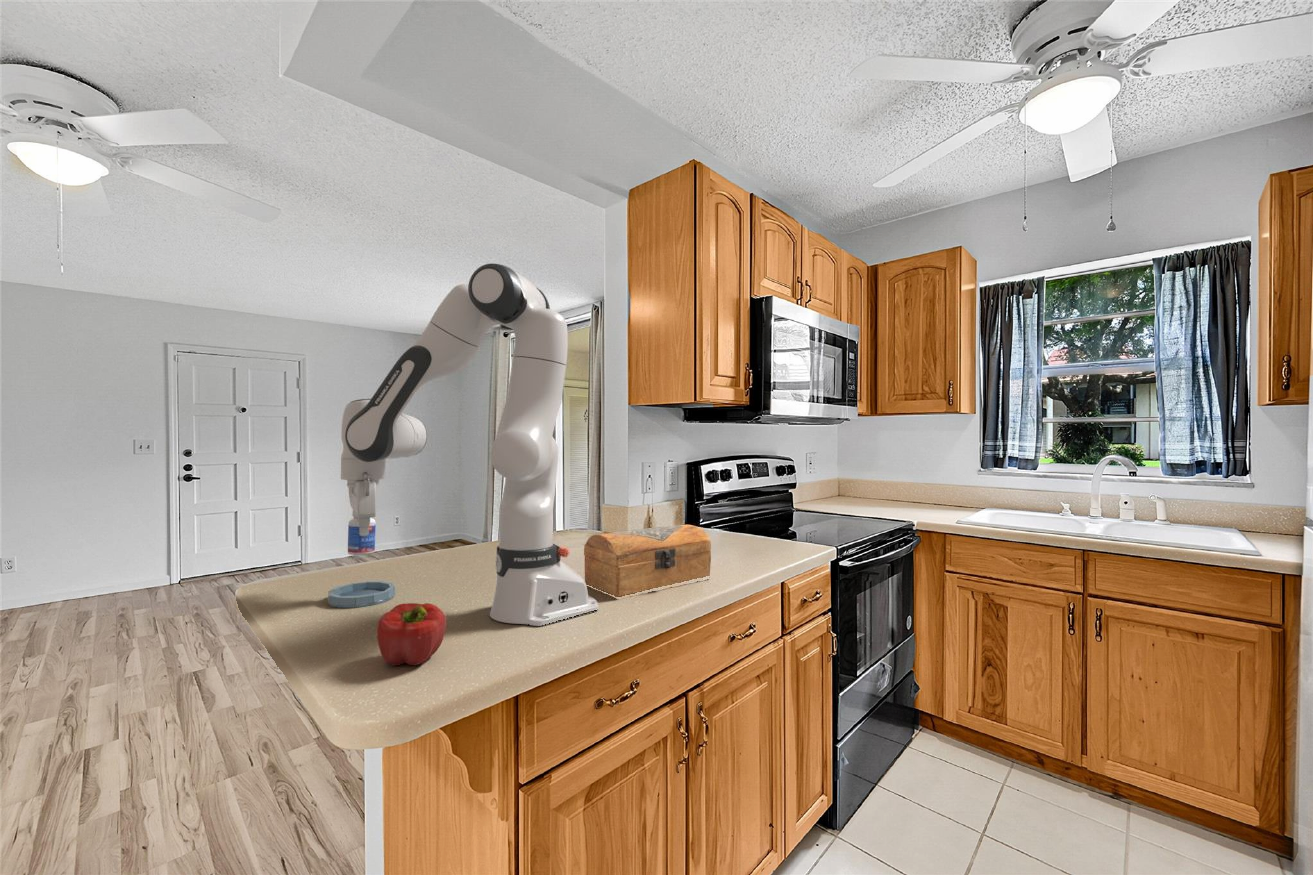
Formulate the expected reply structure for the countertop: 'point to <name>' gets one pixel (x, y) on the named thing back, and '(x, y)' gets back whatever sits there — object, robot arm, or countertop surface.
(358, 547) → the pill bottle
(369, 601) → the dish
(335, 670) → the countertop surface
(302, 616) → the countertop surface
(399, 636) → the vegetable
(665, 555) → the wooden box
